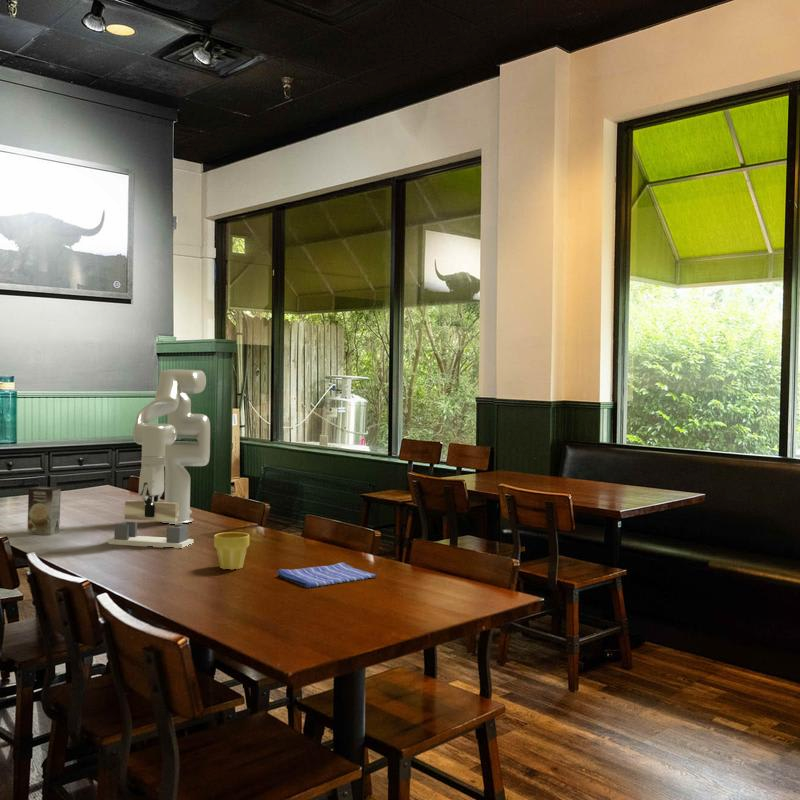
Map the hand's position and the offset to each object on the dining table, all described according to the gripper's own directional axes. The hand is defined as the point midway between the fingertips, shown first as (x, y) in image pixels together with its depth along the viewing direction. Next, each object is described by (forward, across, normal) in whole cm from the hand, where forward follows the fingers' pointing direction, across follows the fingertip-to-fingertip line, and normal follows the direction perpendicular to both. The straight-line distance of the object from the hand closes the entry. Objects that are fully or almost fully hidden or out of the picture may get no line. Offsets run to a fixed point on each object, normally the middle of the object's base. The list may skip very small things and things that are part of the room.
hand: (151, 515), depth 270 cm
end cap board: (+9, 0, 0) cm, 9 cm away
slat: (+1, 0, 0) cm, 1 cm away
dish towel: (+11, +30, +68) cm, 75 cm away
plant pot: (+10, +26, +38) cm, 47 cm away
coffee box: (+9, -8, -44) cm, 46 cm away
